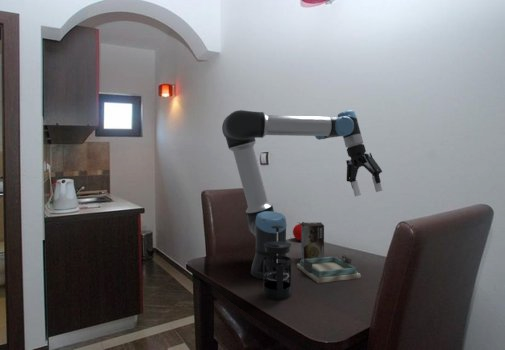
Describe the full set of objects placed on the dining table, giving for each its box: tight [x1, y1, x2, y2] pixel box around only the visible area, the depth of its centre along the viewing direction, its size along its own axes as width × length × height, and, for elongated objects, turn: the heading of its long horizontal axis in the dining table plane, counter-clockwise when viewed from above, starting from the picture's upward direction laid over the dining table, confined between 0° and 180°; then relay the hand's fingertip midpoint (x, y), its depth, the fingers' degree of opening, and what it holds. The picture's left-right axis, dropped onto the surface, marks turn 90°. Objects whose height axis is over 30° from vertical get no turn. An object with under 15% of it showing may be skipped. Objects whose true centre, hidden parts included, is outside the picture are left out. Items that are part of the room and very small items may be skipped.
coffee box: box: [300, 222, 325, 260], centre depth 154 cm, size 9×6×16 cm
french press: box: [262, 225, 292, 301], centre depth 115 cm, size 12×9×23 cm
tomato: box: [292, 221, 305, 242], centre depth 188 cm, size 10×10×10 cm
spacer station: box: [296, 254, 362, 284], centre depth 138 cm, size 18×18×6 cm
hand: (368, 193), depth 149 cm, fingers open, 13 cm apart
